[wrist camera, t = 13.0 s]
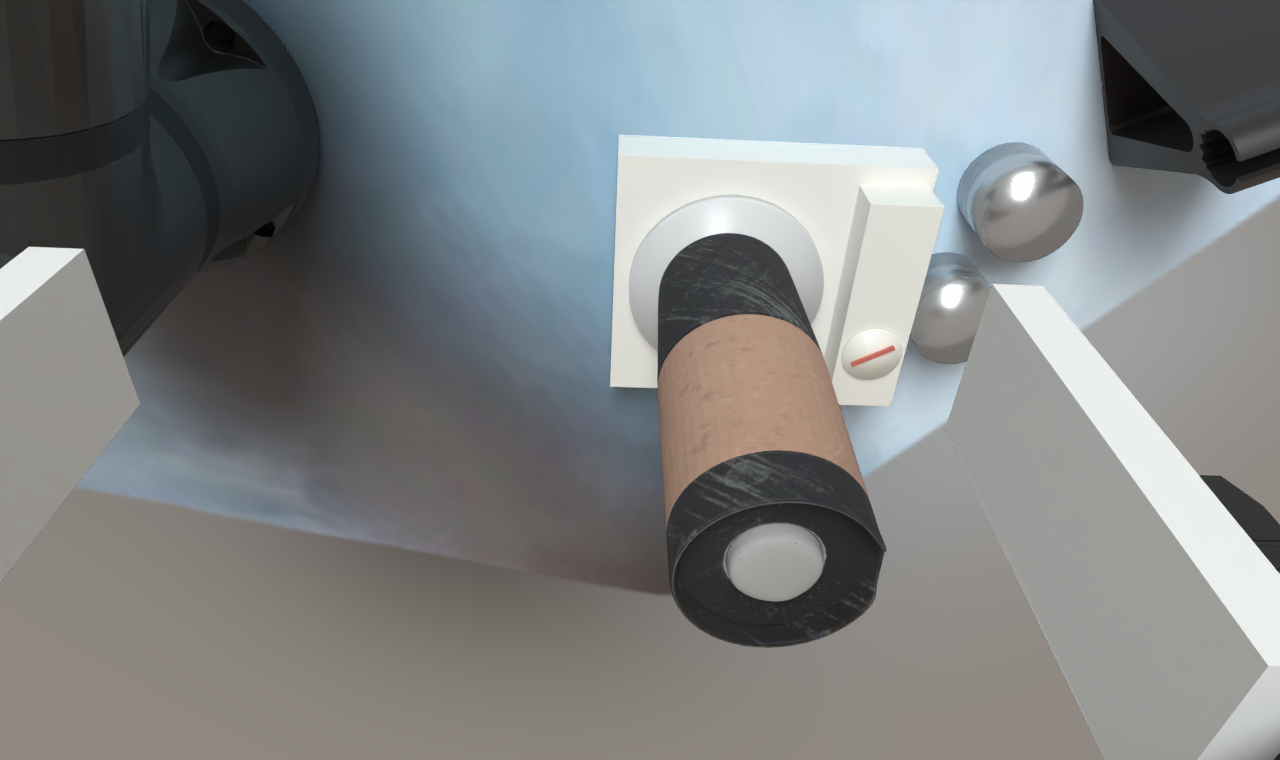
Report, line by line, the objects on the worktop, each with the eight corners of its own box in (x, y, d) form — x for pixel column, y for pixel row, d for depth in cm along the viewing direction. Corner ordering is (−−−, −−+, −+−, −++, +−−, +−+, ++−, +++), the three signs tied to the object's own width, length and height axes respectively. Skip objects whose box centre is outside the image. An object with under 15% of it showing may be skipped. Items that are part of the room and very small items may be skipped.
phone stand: (1228, 119, 44) (1399, 216, 34) (1108, 162, 45) (1240, 266, 36) (1226, -59, 39) (1425, -7, 30) (1092, -6, 41) (1240, 61, 31)
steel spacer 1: (886, 325, 51) (903, 362, 48) (905, 250, 48) (925, 284, 45) (967, 328, 51) (990, 365, 48) (991, 254, 49) (1017, 288, 45)
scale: (611, 358, 52) (609, 415, 48) (619, 134, 44) (617, 176, 40) (868, 367, 53) (891, 424, 48) (922, 148, 45) (956, 191, 40)
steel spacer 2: (946, 227, 48) (969, 260, 44) (971, 140, 45) (997, 168, 41) (1034, 231, 48) (1063, 264, 44) (1064, 144, 45) (1098, 172, 42)
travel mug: (623, 293, 45) (619, 581, 29) (731, 197, 42) (794, 459, 26) (719, 375, 48) (764, 677, 32) (825, 292, 45) (936, 579, 29)
